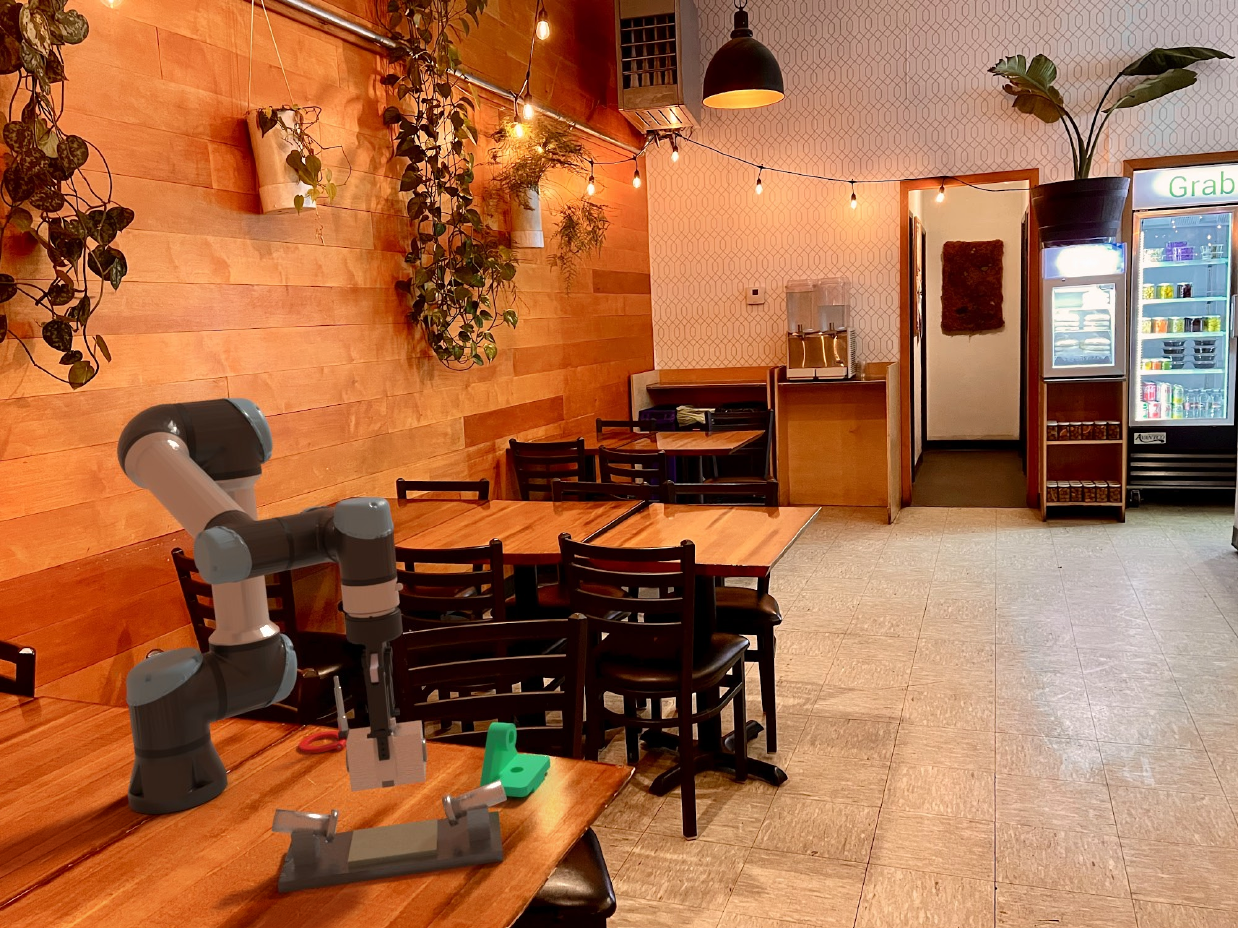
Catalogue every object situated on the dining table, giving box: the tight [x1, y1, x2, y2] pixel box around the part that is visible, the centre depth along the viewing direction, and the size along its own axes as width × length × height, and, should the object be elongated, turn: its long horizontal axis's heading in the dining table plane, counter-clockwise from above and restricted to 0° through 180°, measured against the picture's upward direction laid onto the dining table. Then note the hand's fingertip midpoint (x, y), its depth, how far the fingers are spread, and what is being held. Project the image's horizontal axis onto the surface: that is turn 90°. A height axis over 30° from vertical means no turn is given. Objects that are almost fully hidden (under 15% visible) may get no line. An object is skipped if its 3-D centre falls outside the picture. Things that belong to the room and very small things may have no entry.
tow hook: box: [298, 675, 351, 754], centre depth 182 cm, size 8×13×9 cm
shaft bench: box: [271, 780, 508, 894], centre depth 140 cm, size 32×12×9 cm, turn 100°
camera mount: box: [479, 721, 551, 798], centre depth 160 cm, size 12×8×10 cm, turn 164°
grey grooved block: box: [345, 720, 428, 792], centre depth 139 cm, size 11×5×7 cm, turn 100°
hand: (388, 770), depth 139 cm, fingers closed on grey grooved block, 5 cm apart
